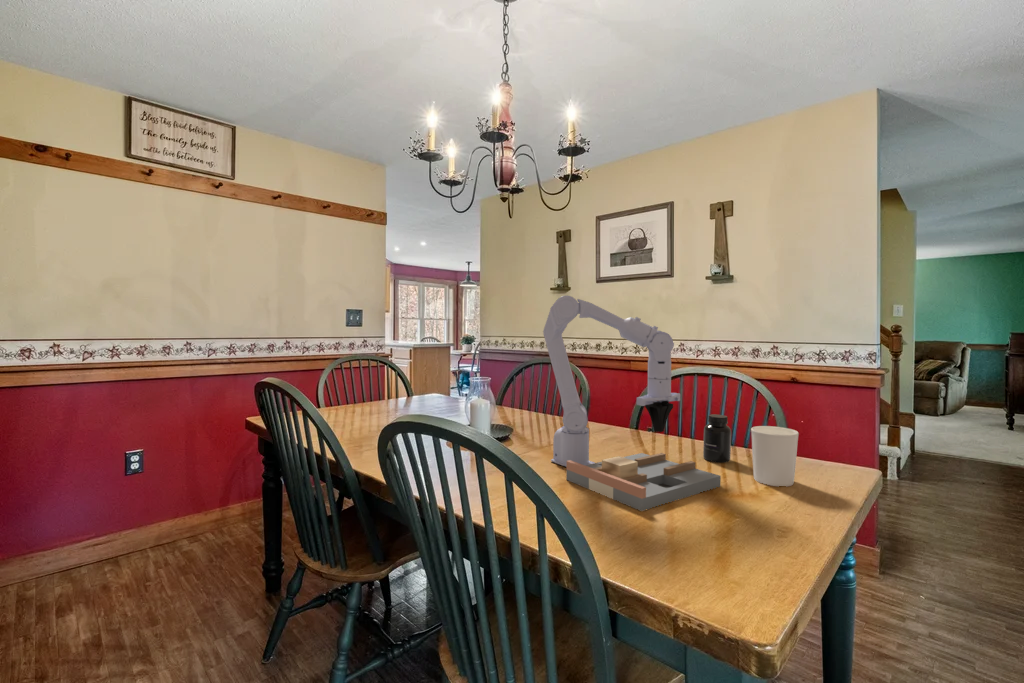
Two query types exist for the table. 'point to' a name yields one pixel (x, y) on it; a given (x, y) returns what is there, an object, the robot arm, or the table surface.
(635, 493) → the board
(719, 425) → the supplement bottle
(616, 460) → the maple block
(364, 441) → the table surface
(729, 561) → the table surface
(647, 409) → the robot arm
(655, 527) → the table surface
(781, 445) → the candle holder
